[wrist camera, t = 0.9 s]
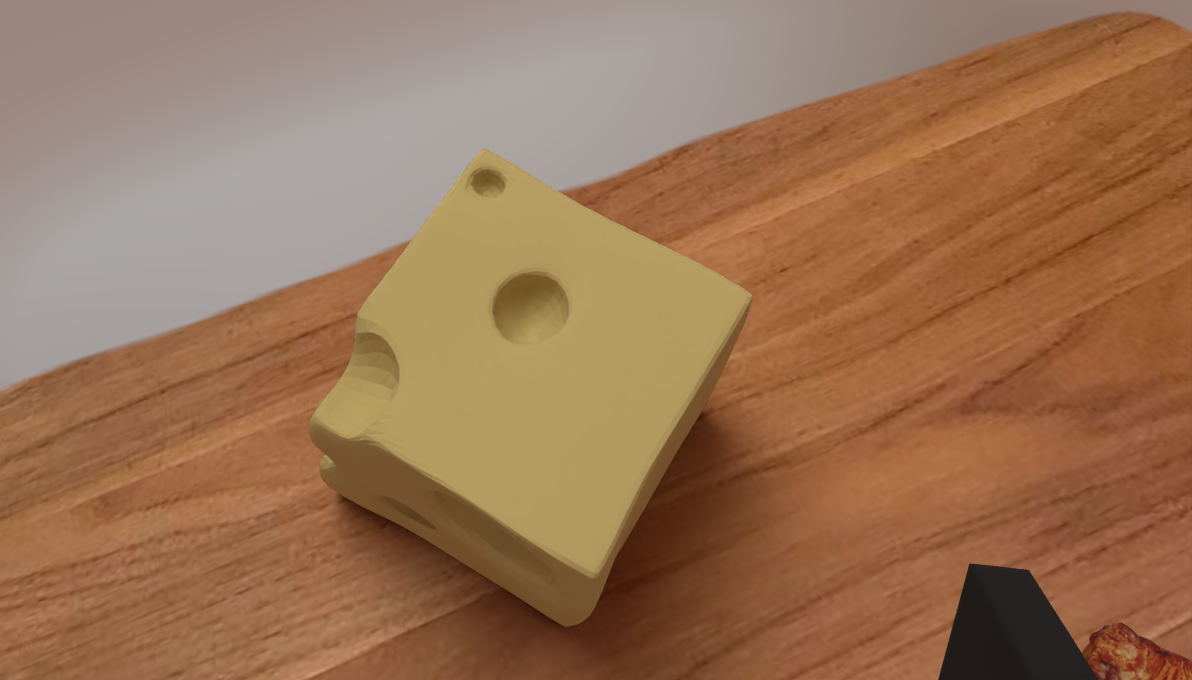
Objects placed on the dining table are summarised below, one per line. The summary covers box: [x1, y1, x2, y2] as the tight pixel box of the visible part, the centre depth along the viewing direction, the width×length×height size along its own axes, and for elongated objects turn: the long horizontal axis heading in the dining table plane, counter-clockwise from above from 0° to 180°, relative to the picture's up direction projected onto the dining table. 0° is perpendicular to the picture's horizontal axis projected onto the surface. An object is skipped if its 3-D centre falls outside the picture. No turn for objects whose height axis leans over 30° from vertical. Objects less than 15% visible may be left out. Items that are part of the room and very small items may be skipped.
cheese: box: [309, 149, 753, 627], centre depth 36 cm, size 10×11×10 cm
